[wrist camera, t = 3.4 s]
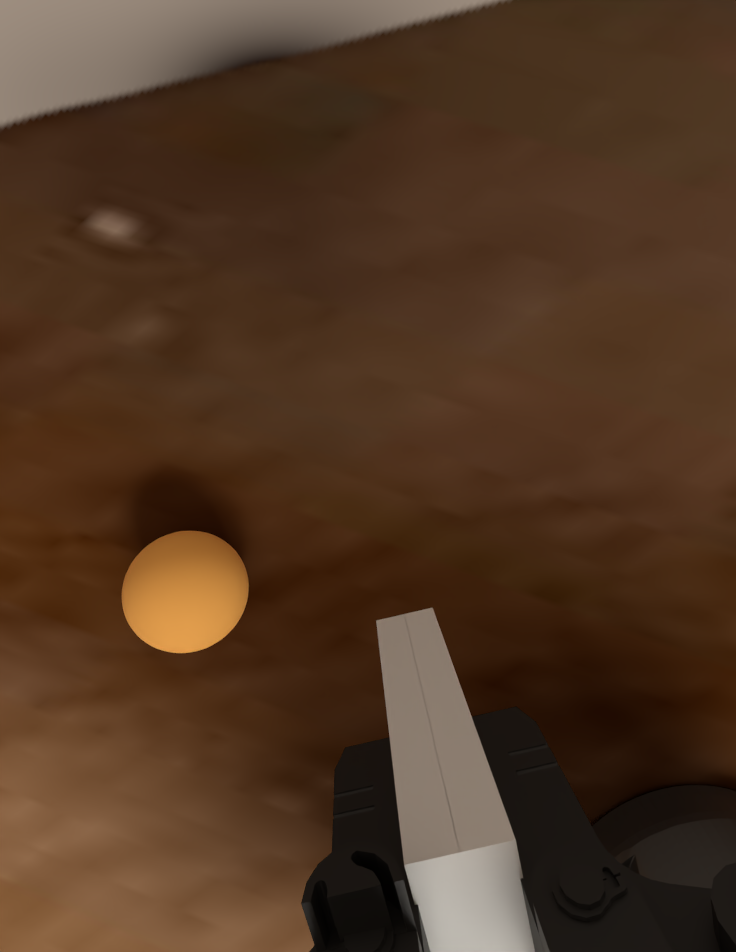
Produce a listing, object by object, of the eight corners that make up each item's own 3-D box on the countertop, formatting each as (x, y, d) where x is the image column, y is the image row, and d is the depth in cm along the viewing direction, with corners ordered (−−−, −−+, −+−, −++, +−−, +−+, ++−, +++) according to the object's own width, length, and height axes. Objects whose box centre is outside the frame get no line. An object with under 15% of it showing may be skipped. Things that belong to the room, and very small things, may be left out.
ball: (241, 505, 25) (212, 540, 20) (270, 604, 26) (250, 662, 21) (136, 530, 25) (78, 572, 20) (168, 627, 26) (123, 691, 21)
